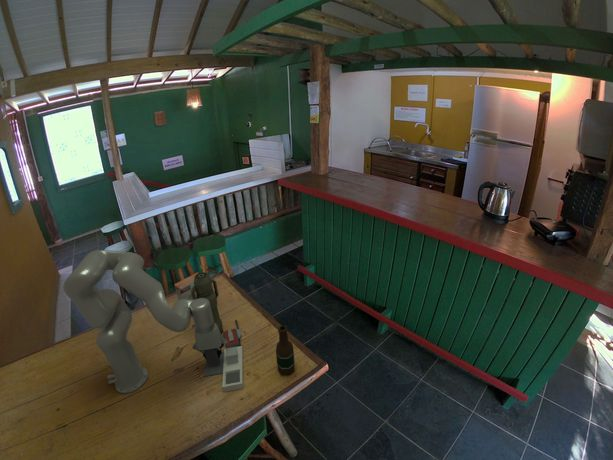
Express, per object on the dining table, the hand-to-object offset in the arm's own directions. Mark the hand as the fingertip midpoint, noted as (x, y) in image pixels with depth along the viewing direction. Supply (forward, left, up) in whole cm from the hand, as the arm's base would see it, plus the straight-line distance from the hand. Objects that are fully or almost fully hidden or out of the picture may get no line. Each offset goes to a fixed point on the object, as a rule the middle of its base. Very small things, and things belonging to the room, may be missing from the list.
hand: (213, 355), depth 139 cm
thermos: (-2, +20, -5) cm, 21 cm away
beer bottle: (+31, -10, -5) cm, 33 cm away
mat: (0, 0, -5) cm, 5 cm away
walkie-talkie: (+8, +15, -6) cm, 18 cm away
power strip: (+8, -5, -5) cm, 11 cm away
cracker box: (-13, +39, -5) cm, 41 cm away
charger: (0, 0, -2) cm, 2 cm away
